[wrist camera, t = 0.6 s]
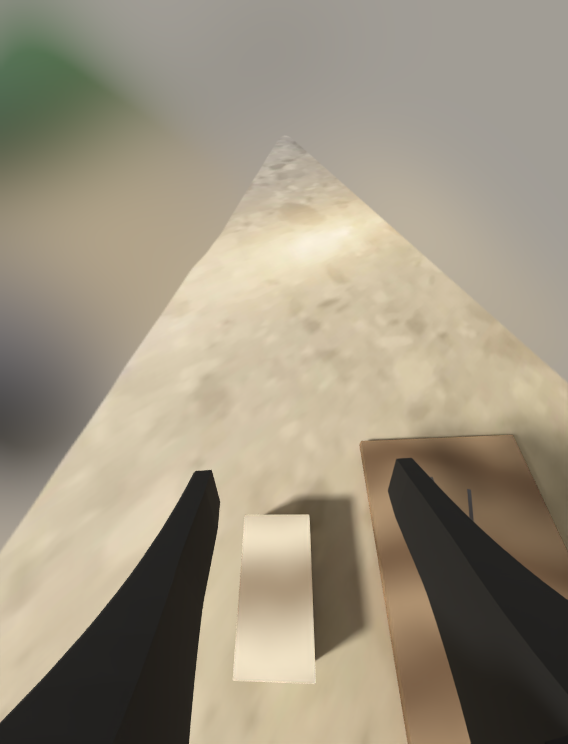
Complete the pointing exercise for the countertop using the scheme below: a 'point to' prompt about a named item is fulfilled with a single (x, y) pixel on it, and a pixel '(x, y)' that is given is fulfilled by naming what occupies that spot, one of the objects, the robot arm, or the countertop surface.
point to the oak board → (403, 583)
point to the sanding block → (275, 602)
